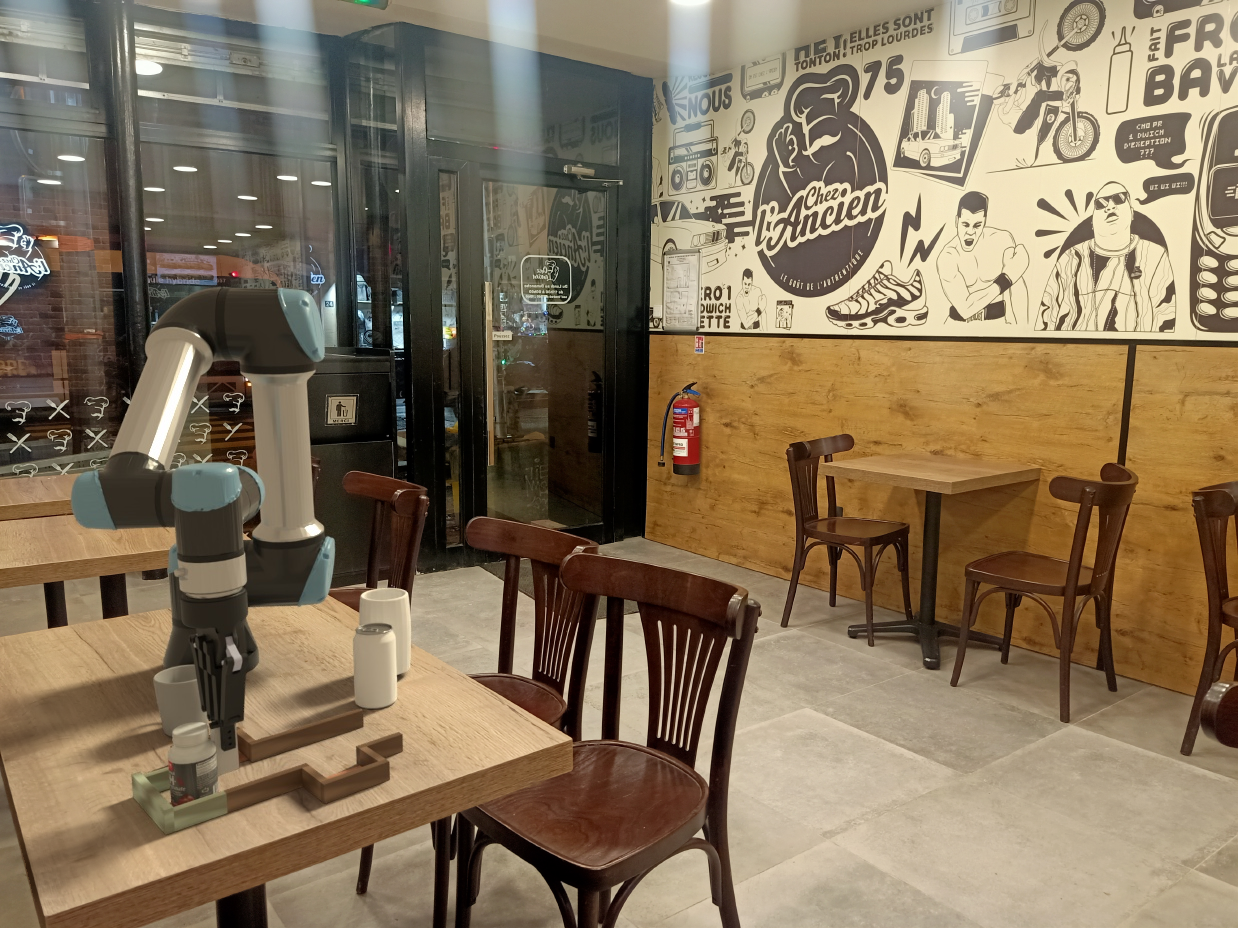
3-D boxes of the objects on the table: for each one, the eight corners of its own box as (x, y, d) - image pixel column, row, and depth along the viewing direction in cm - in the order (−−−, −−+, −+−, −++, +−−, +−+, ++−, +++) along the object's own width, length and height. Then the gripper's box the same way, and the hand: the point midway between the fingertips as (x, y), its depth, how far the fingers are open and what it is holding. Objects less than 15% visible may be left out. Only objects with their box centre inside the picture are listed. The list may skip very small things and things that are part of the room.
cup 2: (421, 669, 156) (419, 590, 154) (394, 687, 149) (392, 603, 147) (379, 663, 159) (377, 585, 157) (350, 680, 151) (347, 598, 149)
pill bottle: (161, 809, 110) (155, 733, 108) (196, 789, 115) (191, 716, 113) (195, 818, 108) (189, 741, 106) (229, 797, 113) (224, 722, 111)
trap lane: (118, 779, 117) (116, 757, 117) (340, 712, 138) (340, 693, 138) (184, 856, 100) (182, 830, 100) (426, 765, 121) (426, 744, 121)
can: (386, 711, 139) (383, 636, 137) (347, 708, 140) (344, 633, 138) (404, 695, 145) (402, 623, 143) (367, 692, 146) (364, 620, 145)
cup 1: (158, 745, 127) (154, 687, 126) (154, 719, 136) (150, 664, 134) (217, 733, 131) (214, 677, 130) (209, 709, 139) (206, 656, 138)
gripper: (162, 585, 113) (176, 763, 116) (201, 607, 104) (215, 799, 107) (223, 574, 118) (235, 744, 122) (266, 594, 109) (277, 778, 112)
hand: (226, 770), depth 114 cm, fingers closed
